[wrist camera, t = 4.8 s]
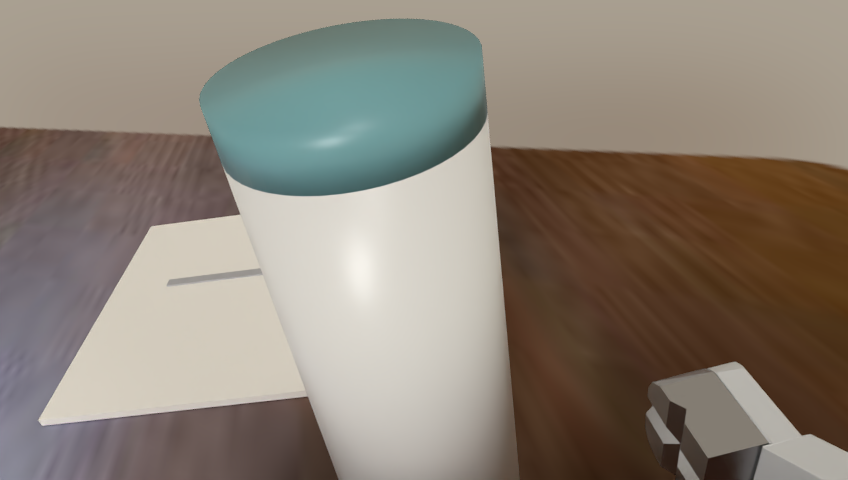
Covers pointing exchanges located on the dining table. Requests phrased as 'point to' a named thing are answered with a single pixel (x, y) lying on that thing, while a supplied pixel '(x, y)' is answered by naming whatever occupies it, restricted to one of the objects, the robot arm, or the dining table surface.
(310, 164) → the marker
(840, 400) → the dining table surface
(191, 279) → the paper
